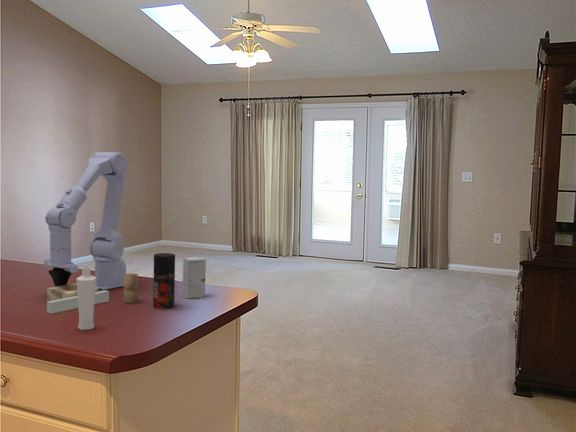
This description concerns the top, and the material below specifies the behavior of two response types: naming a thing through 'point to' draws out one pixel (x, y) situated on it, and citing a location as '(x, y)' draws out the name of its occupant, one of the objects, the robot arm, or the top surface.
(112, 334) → the top surface
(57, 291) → the socket block
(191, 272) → the skincare box
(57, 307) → the backstop wall
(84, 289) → the white pump bottle
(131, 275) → the oak dowel
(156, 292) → the deodorant
